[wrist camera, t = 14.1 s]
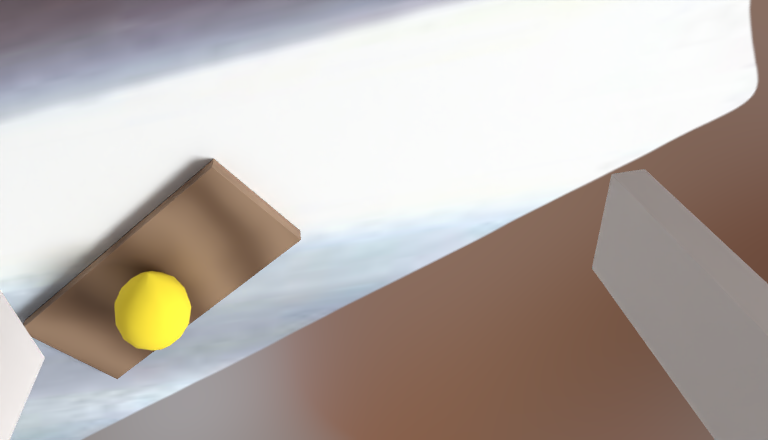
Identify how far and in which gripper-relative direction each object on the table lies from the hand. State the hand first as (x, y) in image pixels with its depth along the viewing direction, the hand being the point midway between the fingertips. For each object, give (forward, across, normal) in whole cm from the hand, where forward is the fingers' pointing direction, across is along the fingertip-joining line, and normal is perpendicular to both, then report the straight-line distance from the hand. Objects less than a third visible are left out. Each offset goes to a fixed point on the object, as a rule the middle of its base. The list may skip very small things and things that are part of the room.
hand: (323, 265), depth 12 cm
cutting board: (+27, -14, -21) cm, 37 cm away
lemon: (+26, -14, -21) cm, 36 cm away
